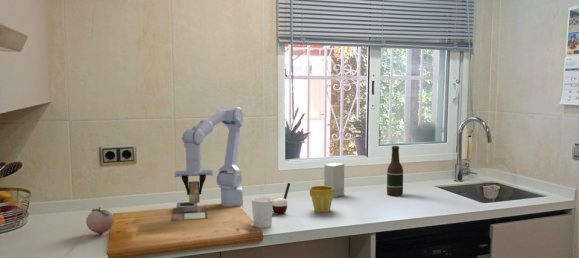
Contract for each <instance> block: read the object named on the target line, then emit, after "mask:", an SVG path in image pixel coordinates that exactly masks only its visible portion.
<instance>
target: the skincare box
mask: <svg viewBox="0 0 579 258" xmlns="http://www.w3.org/2000/svg"><path fill="white" fill-rule="evenodd" d="M323 169H324V170H323V171H324V172H323V173H324V178H323V179H324V182H323V183H324V184H323V186H331V187H333V188H334V196H333V197H332V199H333V198H337V197H340V196H344V195H345V163H341V162H331V163H326V164H324V168H323Z"/></svg>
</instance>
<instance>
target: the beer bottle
mask: <svg viewBox="0 0 579 258" xmlns="http://www.w3.org/2000/svg"><path fill="white" fill-rule="evenodd" d="M403 194H404V168H403V165H402V164H401V162H400V146H399V145H392V146H391V158H390V163H389V165H388V167H387V170H386V195H387V196H390V197H396V198H397V197H398V198H399V197H402V196H403Z"/></svg>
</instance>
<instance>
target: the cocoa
mask: <svg viewBox="0 0 579 258" xmlns="http://www.w3.org/2000/svg"><path fill="white" fill-rule="evenodd" d="M290 186H291V183H290V182H287V184H286V188H285V192H284V196H283V198H282V197H278V198H275V199H273V209H272V213H274V214H275V215H284V214H285V213H286V212H287V211H288V200H287V197H288V193H289V191H290Z"/></svg>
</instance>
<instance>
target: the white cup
mask: <svg viewBox="0 0 579 258" xmlns="http://www.w3.org/2000/svg"><path fill="white" fill-rule="evenodd" d="M273 201H274V198H271V197H269V196H268V197H266V196H260V197H253V198H252V199H251V209H252V220H253V227H255V228H260V229H266V228H271V226H272V222H273V221H272V220H273V212H272V211H273Z"/></svg>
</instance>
